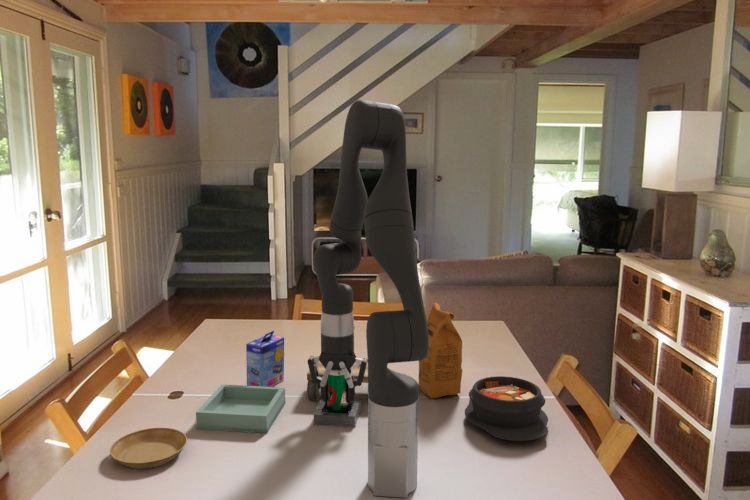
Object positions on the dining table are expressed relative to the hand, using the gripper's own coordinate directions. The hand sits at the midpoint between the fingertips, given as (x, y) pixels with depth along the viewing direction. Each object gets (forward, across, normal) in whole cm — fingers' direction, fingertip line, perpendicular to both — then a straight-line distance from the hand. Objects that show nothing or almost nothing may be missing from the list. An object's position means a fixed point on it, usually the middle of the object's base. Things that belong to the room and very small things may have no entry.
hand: (337, 400), depth 144 cm
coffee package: (+4, +23, +19) cm, 30 cm away
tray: (+4, -22, -2) cm, 22 cm away
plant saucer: (+4, -35, -22) cm, 42 cm away
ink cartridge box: (+4, -22, +17) cm, 28 cm away
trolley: (+4, 0, +14) cm, 15 cm away
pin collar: (+4, 0, 0) cm, 4 cm away
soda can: (+4, 0, 0) cm, 4 cm away
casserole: (+4, +38, +2) cm, 39 cm away
